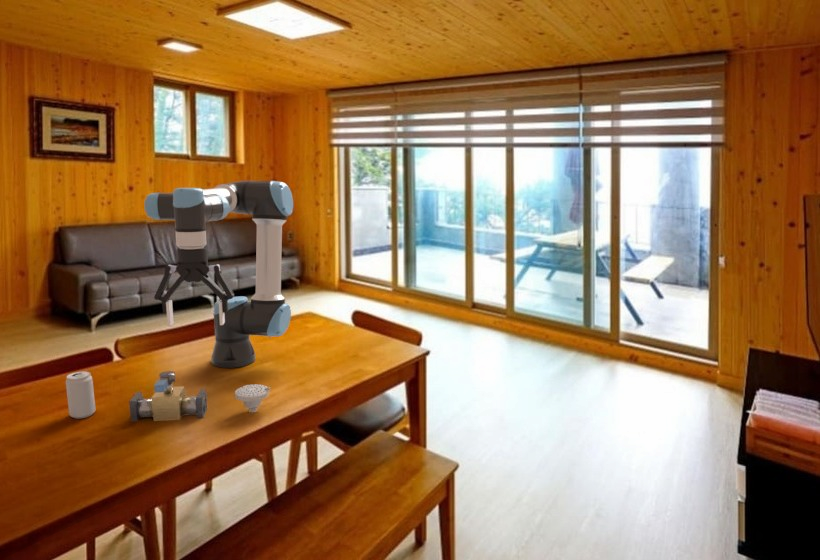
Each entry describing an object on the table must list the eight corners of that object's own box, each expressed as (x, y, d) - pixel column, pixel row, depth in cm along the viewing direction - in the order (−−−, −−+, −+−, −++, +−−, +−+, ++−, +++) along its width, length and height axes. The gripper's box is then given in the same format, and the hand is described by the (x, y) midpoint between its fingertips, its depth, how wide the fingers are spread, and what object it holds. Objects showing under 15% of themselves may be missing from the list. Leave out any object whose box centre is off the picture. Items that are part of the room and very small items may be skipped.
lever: (162, 379, 156) (161, 371, 155) (176, 378, 156) (176, 370, 156) (151, 393, 146) (151, 384, 146) (167, 392, 147) (167, 384, 146)
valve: (153, 421, 152) (150, 388, 150) (160, 410, 159) (158, 378, 157) (180, 419, 153) (177, 387, 151) (186, 408, 160) (183, 377, 158)
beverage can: (89, 407, 160) (84, 368, 157) (100, 413, 156) (96, 373, 154) (65, 415, 155) (60, 375, 152) (76, 421, 151) (71, 380, 149)
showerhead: (267, 393, 154) (231, 394, 153) (268, 417, 155) (232, 418, 154) (273, 380, 163) (238, 381, 162) (274, 403, 164) (239, 404, 164)
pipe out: (131, 421, 152) (129, 401, 150) (138, 412, 158) (136, 392, 156) (154, 420, 153) (152, 400, 151) (160, 411, 158) (158, 391, 157)
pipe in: (180, 418, 154) (179, 398, 153) (185, 409, 160) (184, 390, 158) (203, 417, 155) (201, 397, 154) (207, 408, 161) (206, 389, 159)
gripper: (242, 245, 151) (246, 319, 155) (147, 245, 148) (153, 321, 152) (237, 248, 143) (241, 327, 147) (137, 248, 141) (143, 328, 145)
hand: (196, 324), depth 150 cm, fingers open, 13 cm apart
